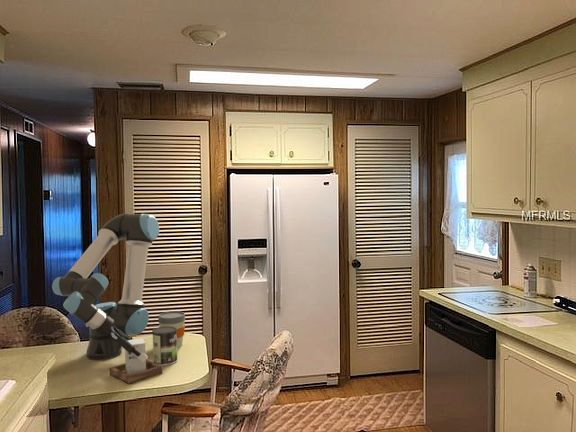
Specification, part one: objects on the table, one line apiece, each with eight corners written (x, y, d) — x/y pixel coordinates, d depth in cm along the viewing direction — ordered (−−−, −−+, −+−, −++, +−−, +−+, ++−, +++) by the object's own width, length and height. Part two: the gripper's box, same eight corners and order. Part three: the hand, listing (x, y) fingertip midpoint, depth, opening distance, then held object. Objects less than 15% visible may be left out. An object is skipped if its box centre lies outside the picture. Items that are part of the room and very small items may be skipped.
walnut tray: (109, 375, 200) (109, 367, 200) (142, 364, 211) (142, 357, 211) (128, 385, 190) (128, 377, 190) (162, 373, 201) (162, 366, 201)
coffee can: (181, 357, 218) (180, 326, 217) (171, 366, 208) (170, 333, 207) (159, 356, 221) (158, 325, 219) (148, 365, 210) (147, 332, 209)
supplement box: (127, 376, 195) (126, 345, 195) (125, 370, 202) (124, 340, 201) (146, 373, 198) (145, 342, 198) (144, 367, 205) (143, 337, 204)
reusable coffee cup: (158, 342, 239) (157, 312, 238) (184, 340, 243) (183, 310, 242) (159, 351, 227) (158, 319, 226) (187, 348, 231) (186, 316, 230)
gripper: (91, 322, 203) (133, 354, 210) (95, 337, 183) (141, 372, 191) (104, 308, 204) (145, 340, 212) (109, 321, 185) (154, 356, 193)
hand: (143, 355), depth 201 cm, fingers open, 9 cm apart
